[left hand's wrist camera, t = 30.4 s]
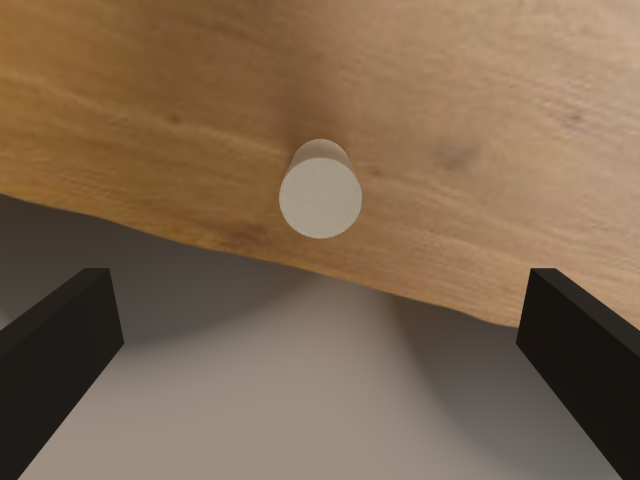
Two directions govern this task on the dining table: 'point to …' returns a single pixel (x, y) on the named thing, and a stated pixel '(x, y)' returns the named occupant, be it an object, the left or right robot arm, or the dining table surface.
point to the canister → (320, 190)
